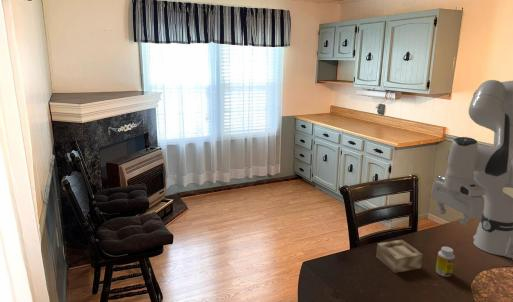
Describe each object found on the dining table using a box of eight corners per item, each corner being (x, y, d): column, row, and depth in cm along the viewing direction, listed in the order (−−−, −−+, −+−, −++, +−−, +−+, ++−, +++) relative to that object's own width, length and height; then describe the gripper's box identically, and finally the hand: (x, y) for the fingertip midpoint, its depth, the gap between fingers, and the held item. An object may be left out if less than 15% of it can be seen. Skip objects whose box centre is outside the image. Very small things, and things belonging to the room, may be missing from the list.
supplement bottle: (446, 279, 131) (450, 254, 128) (432, 271, 135) (436, 247, 133) (454, 274, 134) (458, 250, 131) (440, 267, 138) (444, 243, 136)
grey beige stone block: (400, 252, 149) (402, 239, 147) (420, 268, 137) (422, 254, 136) (375, 256, 145) (377, 243, 144) (394, 272, 134) (396, 258, 133)
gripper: (429, 174, 134) (424, 208, 138) (475, 193, 115) (468, 232, 119) (442, 173, 136) (437, 206, 139) (490, 192, 117) (483, 230, 120)
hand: (452, 218), depth 129 cm, fingers open, 8 cm apart
